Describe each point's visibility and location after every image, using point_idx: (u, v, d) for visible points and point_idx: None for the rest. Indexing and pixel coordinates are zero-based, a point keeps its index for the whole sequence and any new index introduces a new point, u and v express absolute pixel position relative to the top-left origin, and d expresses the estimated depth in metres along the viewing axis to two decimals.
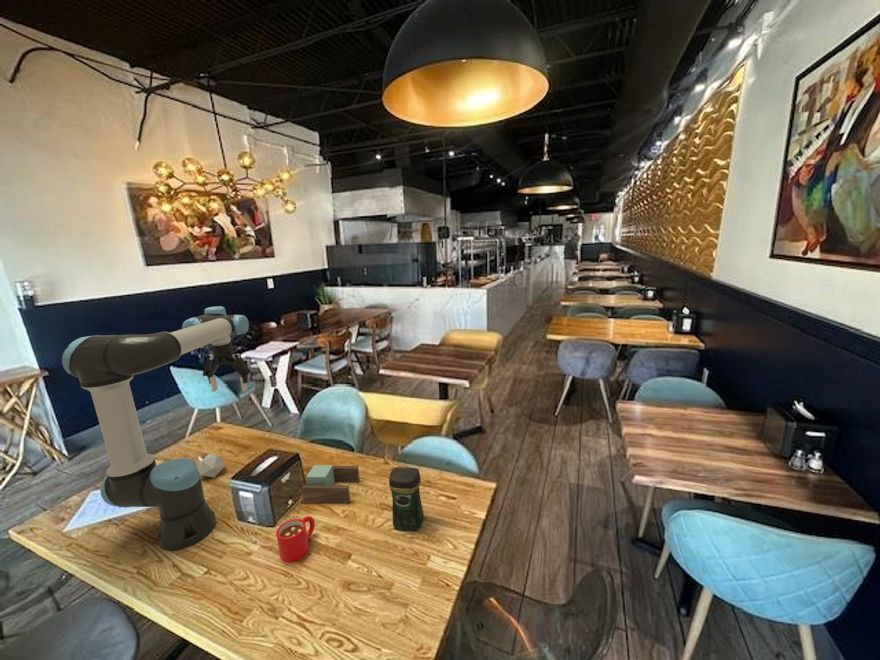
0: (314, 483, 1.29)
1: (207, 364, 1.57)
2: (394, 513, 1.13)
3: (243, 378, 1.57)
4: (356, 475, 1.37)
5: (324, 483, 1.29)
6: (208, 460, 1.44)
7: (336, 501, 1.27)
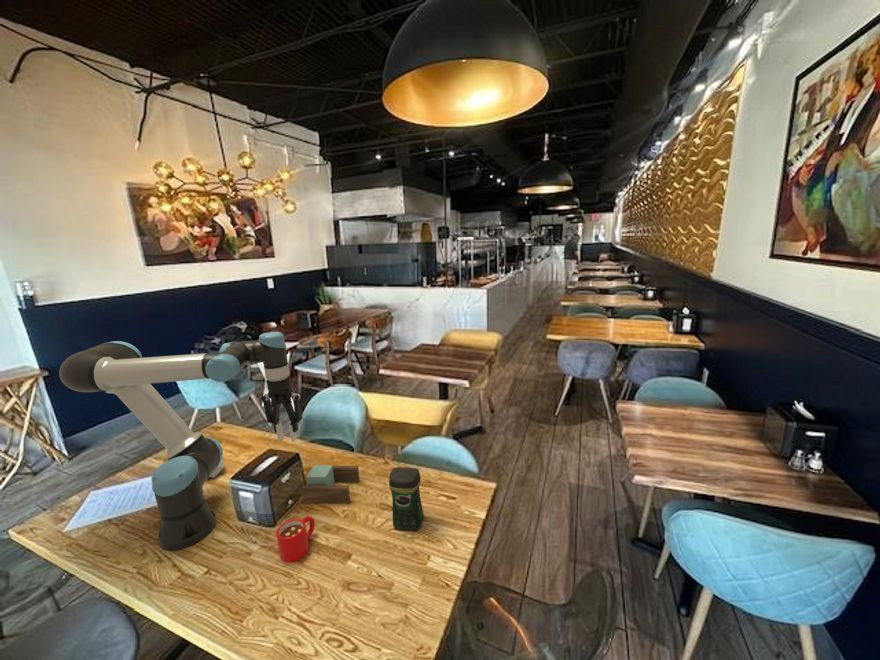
0: (314, 483, 1.29)
1: (266, 407, 1.26)
2: (394, 513, 1.13)
3: (293, 426, 1.28)
4: (356, 475, 1.37)
5: (324, 483, 1.29)
6: None
7: (336, 501, 1.27)
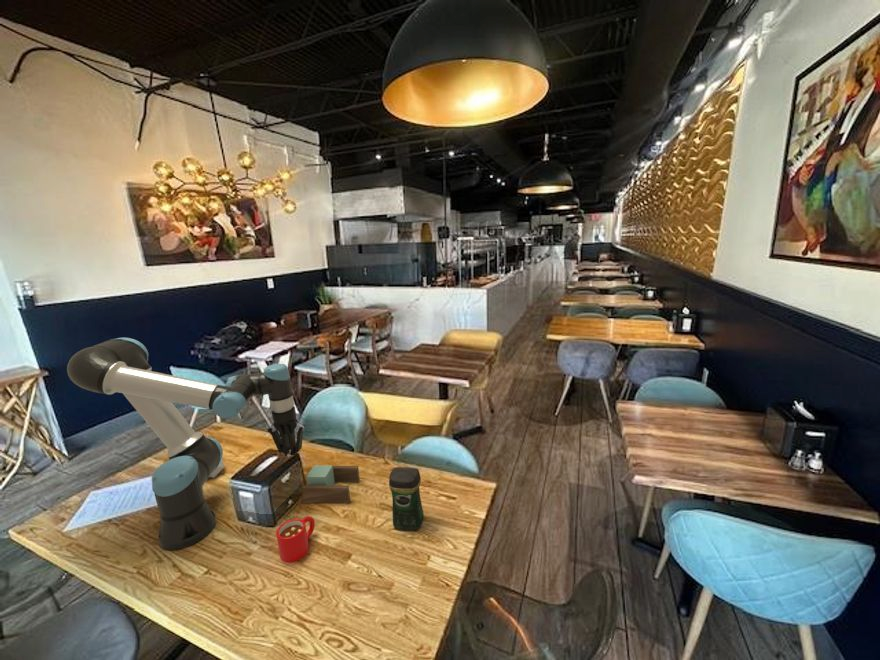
0: (314, 483, 1.29)
1: (275, 438, 1.29)
2: (394, 513, 1.13)
3: None
4: (356, 475, 1.37)
5: (324, 483, 1.29)
6: None
7: (336, 501, 1.27)
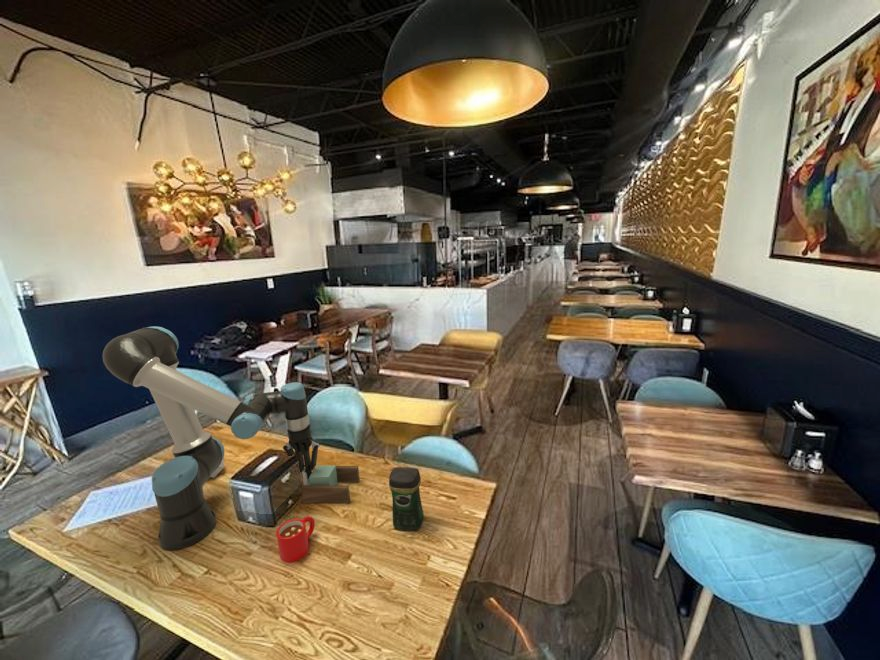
0: (317, 483, 1.29)
1: (290, 455, 1.30)
2: (394, 513, 1.13)
3: (307, 473, 1.32)
4: (356, 475, 1.37)
5: (327, 483, 1.29)
6: None
7: (336, 501, 1.27)
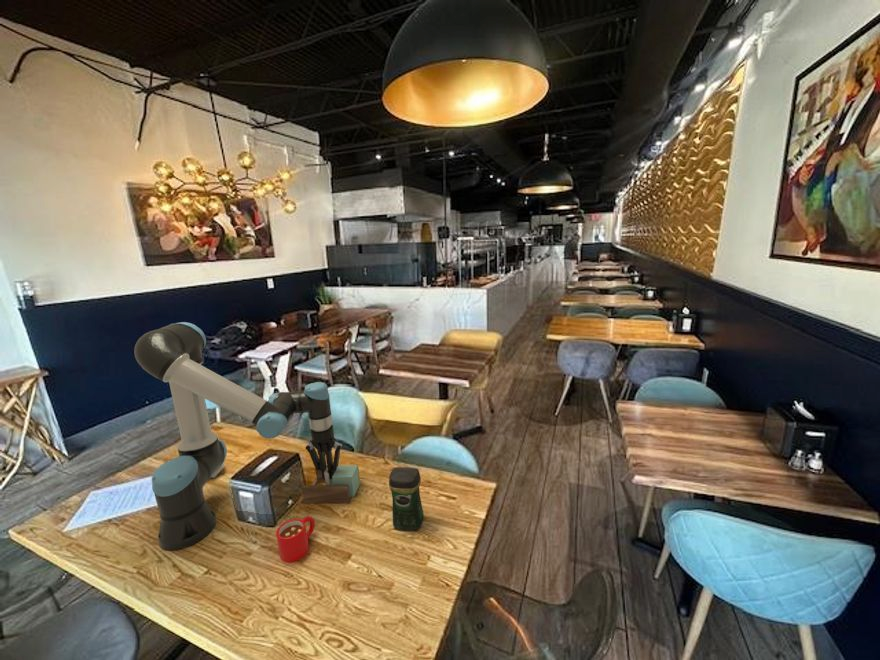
0: (340, 483, 1.29)
1: (312, 456, 1.30)
2: (394, 513, 1.13)
3: (330, 473, 1.31)
4: None
5: (350, 483, 1.28)
6: None
7: (336, 501, 1.27)
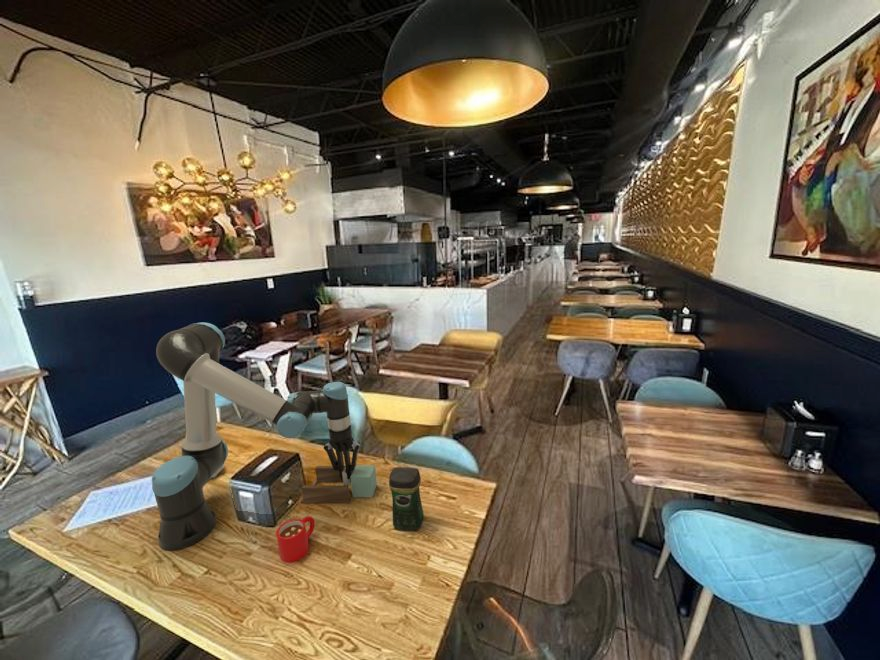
0: (358, 483, 1.28)
1: (330, 455, 1.29)
2: (394, 513, 1.13)
3: (347, 473, 1.31)
4: None
5: (368, 483, 1.28)
6: None
7: (336, 501, 1.27)
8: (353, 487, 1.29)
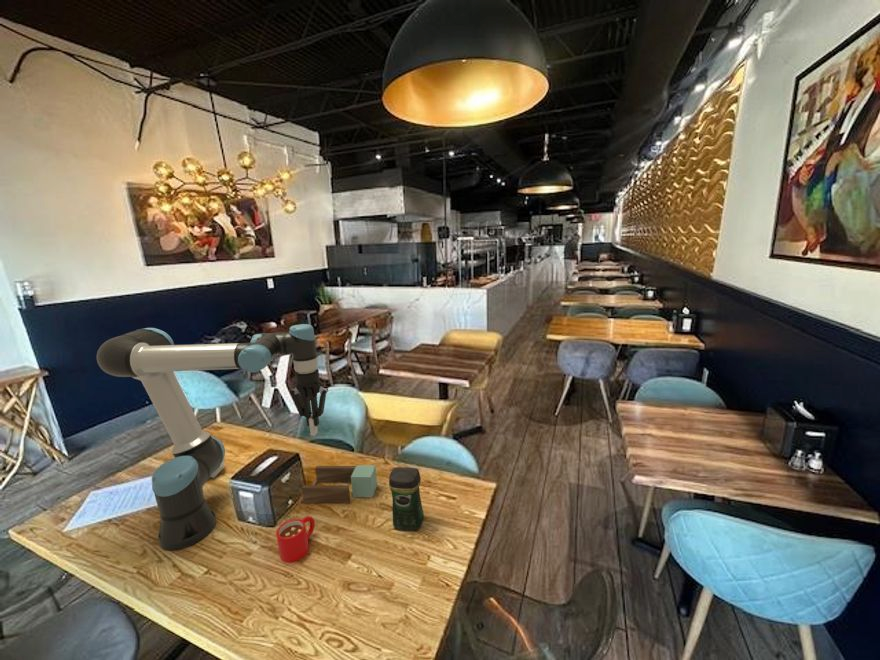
0: (359, 483, 1.28)
1: (297, 401, 1.26)
2: (394, 513, 1.13)
3: (314, 420, 1.27)
4: None
5: (369, 483, 1.28)
6: None
7: (336, 501, 1.27)
8: (353, 487, 1.29)
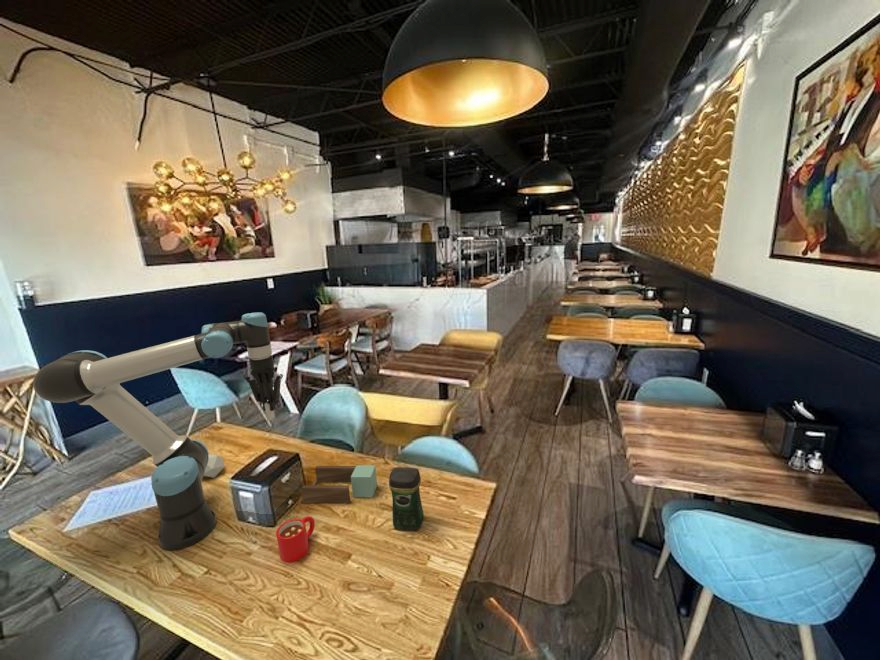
0: (359, 483, 1.28)
1: (252, 386, 1.31)
2: (394, 513, 1.13)
3: (270, 405, 1.32)
4: None
5: (369, 483, 1.28)
6: (208, 460, 1.44)
7: (336, 501, 1.27)
8: (353, 487, 1.29)
